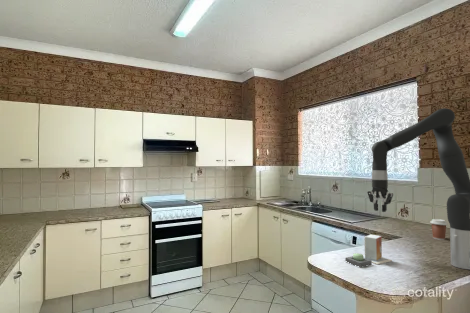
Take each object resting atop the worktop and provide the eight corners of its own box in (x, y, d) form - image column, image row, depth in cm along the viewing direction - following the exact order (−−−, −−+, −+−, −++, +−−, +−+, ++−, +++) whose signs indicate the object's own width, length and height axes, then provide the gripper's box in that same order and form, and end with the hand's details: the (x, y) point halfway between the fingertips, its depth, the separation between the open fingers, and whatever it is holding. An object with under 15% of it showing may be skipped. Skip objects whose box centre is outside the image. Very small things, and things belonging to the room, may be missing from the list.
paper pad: (391, 261, 132) (391, 259, 132) (377, 264, 127) (377, 263, 127) (371, 254, 142) (371, 253, 142) (356, 257, 137) (356, 256, 137)
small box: (376, 261, 130) (376, 238, 131) (364, 258, 134) (364, 236, 135) (382, 257, 136) (381, 236, 136) (370, 254, 140) (370, 234, 140)
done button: (365, 260, 128) (365, 255, 128) (359, 262, 126) (359, 256, 126) (357, 257, 132) (357, 252, 132) (351, 259, 130) (351, 254, 130)
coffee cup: (451, 240, 171) (450, 221, 172) (434, 239, 173) (434, 220, 174) (443, 237, 180) (442, 218, 181) (427, 236, 182) (427, 218, 183)
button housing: (371, 264, 127) (371, 260, 127) (359, 267, 123) (359, 262, 123) (356, 259, 134) (356, 255, 134) (345, 261, 130) (345, 257, 130)
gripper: (397, 179, 142) (397, 212, 141) (372, 178, 154) (372, 209, 153) (387, 179, 138) (388, 213, 137) (363, 178, 151) (363, 209, 150)
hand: (380, 211), depth 145 cm, fingers open, 3 cm apart
